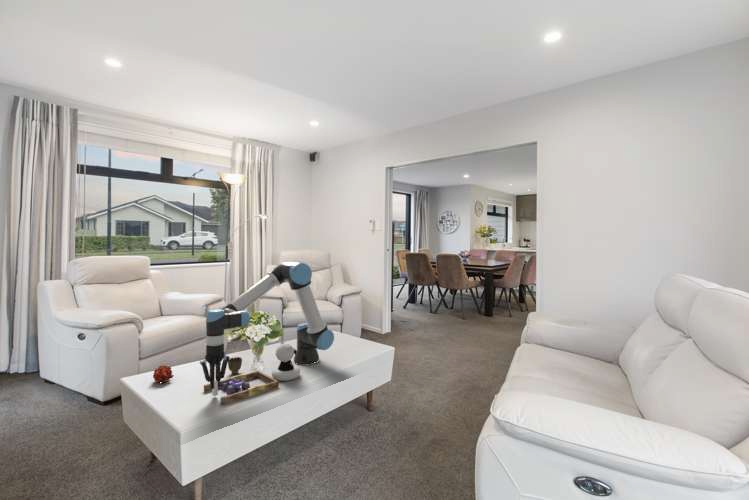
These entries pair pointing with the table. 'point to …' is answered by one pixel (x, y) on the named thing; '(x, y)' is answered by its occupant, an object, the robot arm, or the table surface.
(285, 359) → the decorative figurine
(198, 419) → the table surface
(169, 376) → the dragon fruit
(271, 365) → the table surface
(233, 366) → the cup
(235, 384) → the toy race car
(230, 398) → the wooden tray
